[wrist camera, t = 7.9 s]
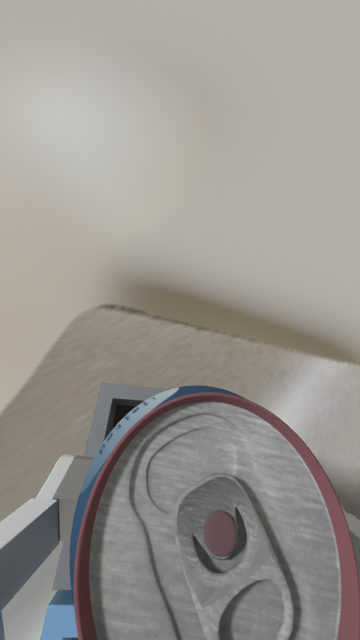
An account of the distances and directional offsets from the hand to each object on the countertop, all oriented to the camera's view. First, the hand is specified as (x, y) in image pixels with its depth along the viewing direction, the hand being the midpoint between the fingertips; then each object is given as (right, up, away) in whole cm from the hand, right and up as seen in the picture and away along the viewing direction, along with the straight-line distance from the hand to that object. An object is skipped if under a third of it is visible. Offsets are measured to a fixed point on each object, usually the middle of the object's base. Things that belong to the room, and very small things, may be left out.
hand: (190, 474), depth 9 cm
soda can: (-1, -4, +6) cm, 8 cm away
